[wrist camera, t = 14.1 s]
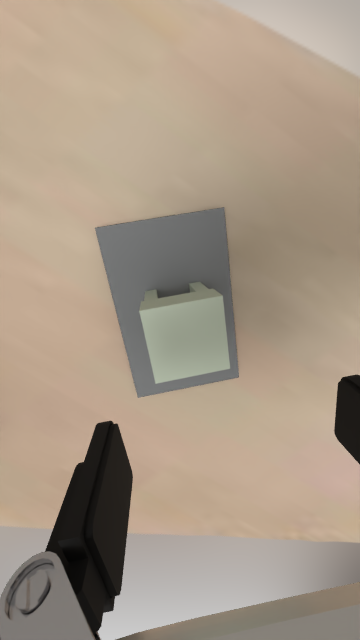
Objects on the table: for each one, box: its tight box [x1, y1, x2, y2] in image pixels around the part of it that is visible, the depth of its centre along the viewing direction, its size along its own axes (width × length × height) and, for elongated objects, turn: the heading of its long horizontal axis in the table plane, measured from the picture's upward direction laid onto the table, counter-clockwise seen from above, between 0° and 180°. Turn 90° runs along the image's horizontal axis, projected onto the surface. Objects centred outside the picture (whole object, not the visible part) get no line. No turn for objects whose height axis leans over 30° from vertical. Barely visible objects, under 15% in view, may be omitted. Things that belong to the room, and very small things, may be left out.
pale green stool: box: [139, 282, 230, 384], centre depth 23 cm, size 6×6×8 cm
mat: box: [95, 207, 239, 398], centre depth 27 cm, size 13×20×1 cm, turn 9°
